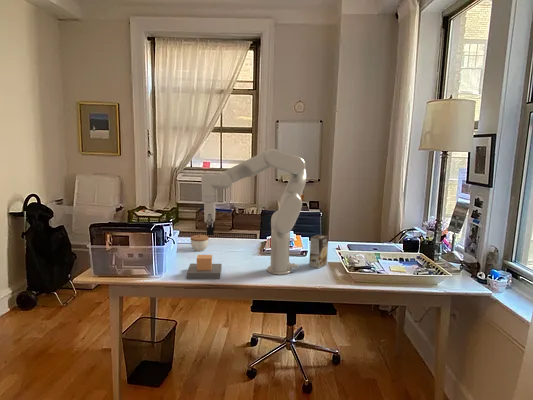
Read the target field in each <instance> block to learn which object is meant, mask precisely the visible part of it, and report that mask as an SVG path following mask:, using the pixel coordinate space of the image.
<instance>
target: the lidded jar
mask: <svg viewBox="0 0 533 400" xmlns="http://www.w3.org/2000/svg"><path fill="white" fill-rule="evenodd" d="M190 244H191V245H190V246H191V247H192V249H194V251H196V252H202V251H205V250H206V249H207V247H208V245H209V235H207V234H206V235H205V234H195V235H191V236H190Z"/></svg>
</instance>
